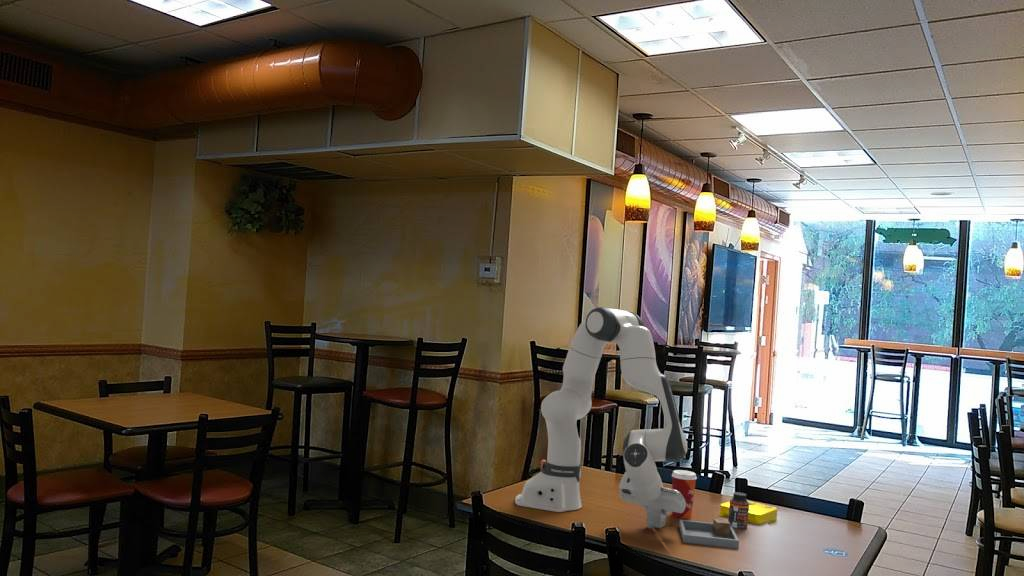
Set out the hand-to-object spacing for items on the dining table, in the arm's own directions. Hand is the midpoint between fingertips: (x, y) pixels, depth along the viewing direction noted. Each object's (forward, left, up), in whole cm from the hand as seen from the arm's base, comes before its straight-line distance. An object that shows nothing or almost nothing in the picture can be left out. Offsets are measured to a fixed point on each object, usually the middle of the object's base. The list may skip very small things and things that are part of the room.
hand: (657, 511), depth 232 cm
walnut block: (+19, -3, -4) cm, 20 cm away
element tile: (+31, +23, -6) cm, 39 cm away
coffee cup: (+9, +13, -5) cm, 17 cm away
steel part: (0, -1, -5) cm, 5 cm away
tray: (+15, -8, -5) cm, 17 cm away
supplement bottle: (+26, +7, -5) cm, 27 cm away
